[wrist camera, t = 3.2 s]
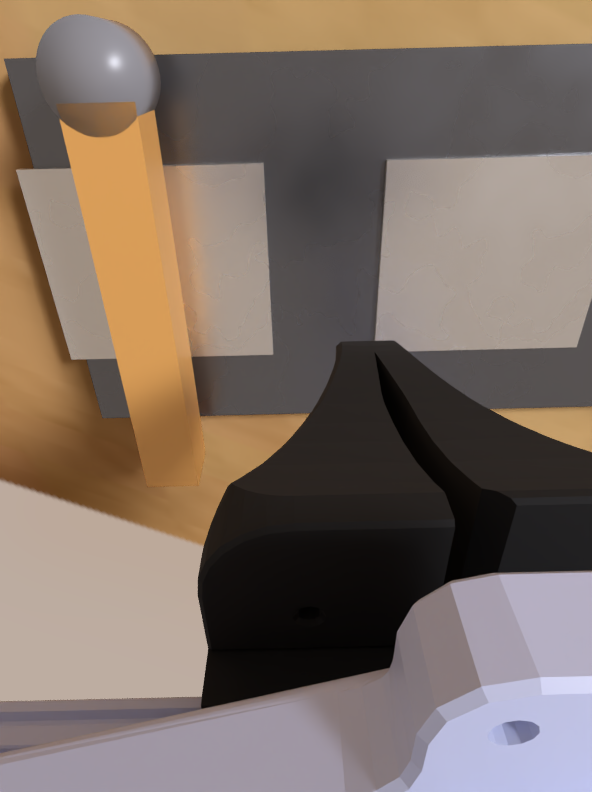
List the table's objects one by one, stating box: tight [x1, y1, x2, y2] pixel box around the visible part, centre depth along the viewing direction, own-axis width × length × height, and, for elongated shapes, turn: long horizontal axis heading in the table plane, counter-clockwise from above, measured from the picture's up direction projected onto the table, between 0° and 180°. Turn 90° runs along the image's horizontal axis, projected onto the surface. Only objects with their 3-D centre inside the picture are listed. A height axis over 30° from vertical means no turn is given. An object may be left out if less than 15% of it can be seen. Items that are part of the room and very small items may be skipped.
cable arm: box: [36, 14, 205, 487], centre depth 17 cm, size 15×3×2 cm, turn 1°
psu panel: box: [4, 44, 592, 418], centre depth 19 cm, size 13×24×2 cm, turn 91°
